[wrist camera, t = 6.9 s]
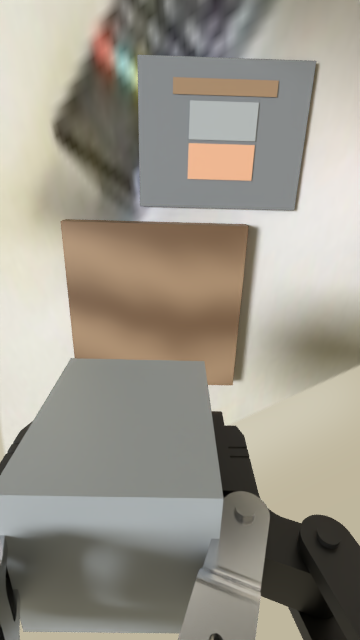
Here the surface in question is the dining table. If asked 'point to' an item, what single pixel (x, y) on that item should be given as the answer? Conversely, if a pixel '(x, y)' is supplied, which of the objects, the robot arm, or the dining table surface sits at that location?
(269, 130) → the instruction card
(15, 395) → the dining table surface
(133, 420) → the slate brick
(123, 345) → the walnut base plate
